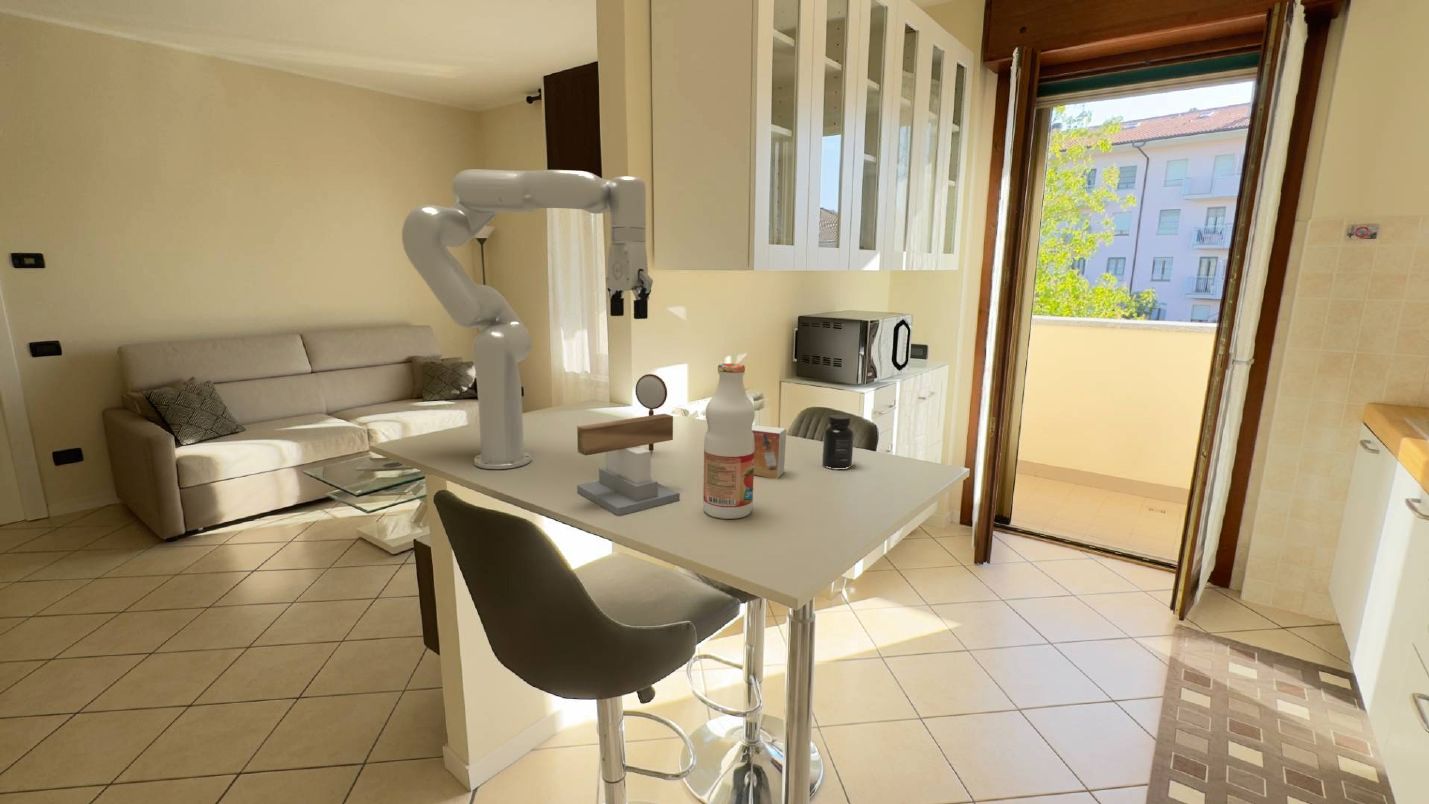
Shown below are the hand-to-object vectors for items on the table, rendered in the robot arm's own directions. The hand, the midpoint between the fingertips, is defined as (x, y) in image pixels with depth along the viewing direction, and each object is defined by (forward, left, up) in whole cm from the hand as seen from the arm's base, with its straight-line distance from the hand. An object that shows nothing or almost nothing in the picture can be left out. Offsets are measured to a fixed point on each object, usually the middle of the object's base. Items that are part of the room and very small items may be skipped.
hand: (628, 317), depth 142 cm
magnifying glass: (-6, +10, -34) cm, 36 cm away
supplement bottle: (+28, +40, -34) cm, 60 cm away
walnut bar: (+17, -11, -24) cm, 31 cm away
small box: (+22, +22, -35) cm, 47 cm away
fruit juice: (+35, 0, -34) cm, 49 cm away
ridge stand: (+17, -11, -34) cm, 40 cm away
